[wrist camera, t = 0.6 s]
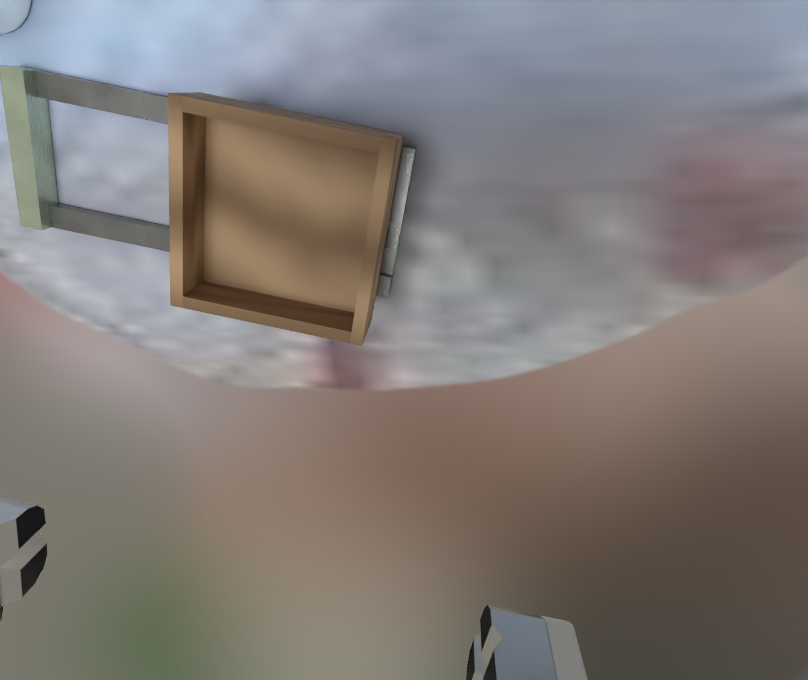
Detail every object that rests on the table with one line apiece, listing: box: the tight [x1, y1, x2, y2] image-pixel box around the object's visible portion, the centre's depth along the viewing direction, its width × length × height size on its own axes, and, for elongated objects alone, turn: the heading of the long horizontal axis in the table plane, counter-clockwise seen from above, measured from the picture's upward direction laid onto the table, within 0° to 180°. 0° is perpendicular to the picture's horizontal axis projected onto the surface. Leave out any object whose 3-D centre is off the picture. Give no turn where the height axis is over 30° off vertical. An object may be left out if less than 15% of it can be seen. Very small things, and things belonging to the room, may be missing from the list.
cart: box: [168, 93, 403, 345], centre depth 34 cm, size 13×13×6 cm
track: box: [0, 65, 416, 298], centre depth 37 cm, size 11×27×2 cm, turn 79°
